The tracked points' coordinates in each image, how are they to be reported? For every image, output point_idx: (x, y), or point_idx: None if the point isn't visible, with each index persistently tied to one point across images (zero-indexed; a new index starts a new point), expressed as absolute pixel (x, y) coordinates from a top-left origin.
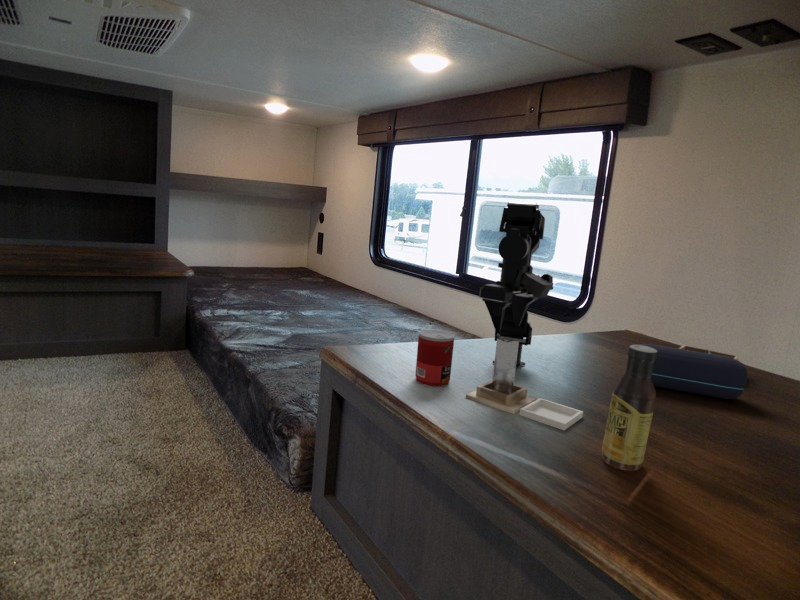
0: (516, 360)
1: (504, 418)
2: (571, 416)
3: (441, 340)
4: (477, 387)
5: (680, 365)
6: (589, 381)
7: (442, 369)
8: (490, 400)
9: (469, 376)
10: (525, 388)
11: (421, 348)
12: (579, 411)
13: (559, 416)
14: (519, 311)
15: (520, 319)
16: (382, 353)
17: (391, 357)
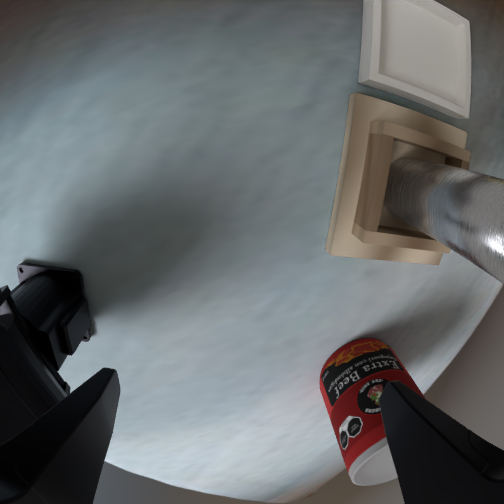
0: (487, 176)
1: (471, 147)
2: (426, 2)
3: None
4: (447, 250)
5: None
6: (12, 62)
7: (401, 366)
8: None
9: (256, 336)
10: (388, 127)
11: None
12: None
13: (407, 27)
14: (76, 463)
15: (97, 402)
16: (255, 477)
17: (265, 465)
